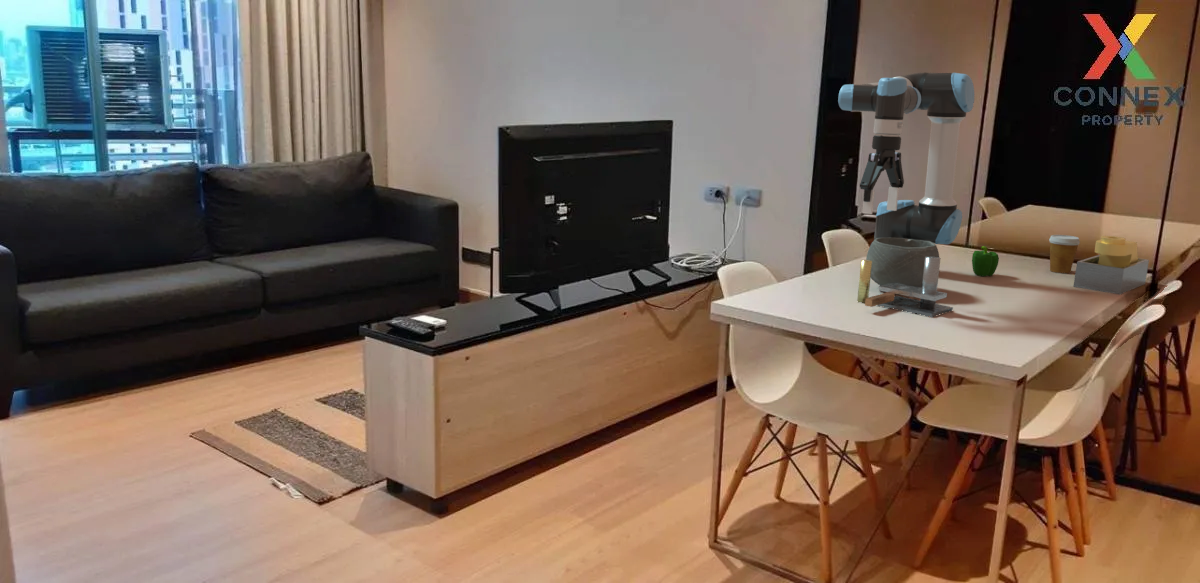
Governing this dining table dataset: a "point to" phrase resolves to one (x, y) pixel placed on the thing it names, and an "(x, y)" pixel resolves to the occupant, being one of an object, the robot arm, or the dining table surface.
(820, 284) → the dining table surface
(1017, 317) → the dining table surface
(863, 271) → the gold rounded cylinder
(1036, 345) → the dining table surface
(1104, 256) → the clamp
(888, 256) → the bowl
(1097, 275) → the grey open-top box
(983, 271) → the bell pepper
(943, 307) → the grey lever block
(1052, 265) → the disposable coffee cup
